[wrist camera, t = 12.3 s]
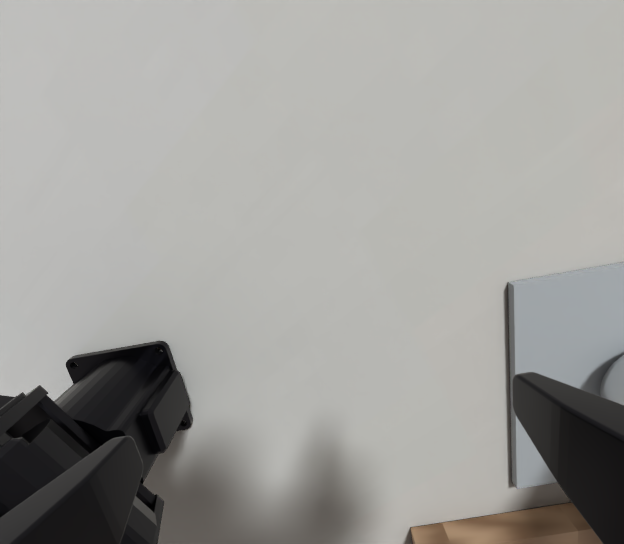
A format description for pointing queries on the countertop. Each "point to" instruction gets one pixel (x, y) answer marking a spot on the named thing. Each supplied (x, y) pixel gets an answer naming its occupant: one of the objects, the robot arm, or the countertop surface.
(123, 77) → the countertop surface
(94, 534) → the robot arm
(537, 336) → the mat
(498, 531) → the pocket frame
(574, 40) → the countertop surface
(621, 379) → the plastic bottle
